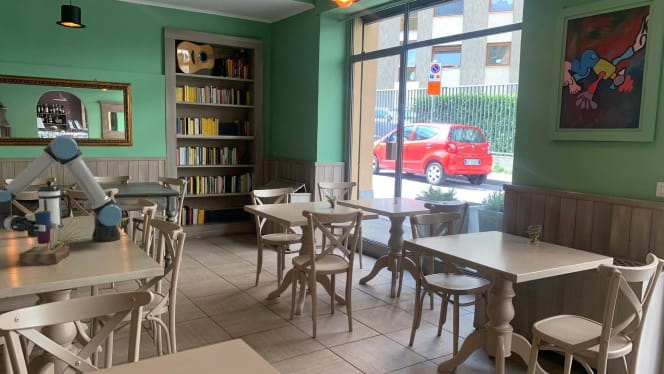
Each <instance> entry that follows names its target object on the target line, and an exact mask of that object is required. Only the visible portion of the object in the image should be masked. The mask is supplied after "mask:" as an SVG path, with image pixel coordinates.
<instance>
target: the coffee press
mask: <svg viewBox="0 0 664 374" xmlns="http://www.w3.org/2000/svg"><path fill="white" fill-rule="evenodd" d="M51 183H52V182H51V181H49V180H48V181H47V182H46V184H44V185H43V184H42V185H40V186H39V187H38V189H37V192H36V193H35V195H36V196H37V198H38V207H39V211H50V212H51V220H50V221H52V223H58V227H60V228H63V227H64V226H65V225H64V224H63V223H62V222H63V221H62V220H63V219H68V218H69V217H71V215H72V214H71V213H72V204H71V203H72V202H71V197H70V196H69V195H68V194H66V193H61V189H62V188H60V186H59V185H56V184H51ZM63 197H65V198H66V203H67V214H65V215H62V205H61V198H63Z"/></svg>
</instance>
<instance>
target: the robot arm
mask: <svg viewBox="0 0 664 374" xmlns="http://www.w3.org/2000/svg"><path fill="white" fill-rule="evenodd" d="M83 156H84V155H83V152H82V151H81V149H80V148H79V146H78V144H77V142H76V139H73V138H72V137H71V136H68V135H58V136H55V137H54V138H53V139H52V140H51V141H50V143H48V145H47V146H46V147H45V148H44V149H42V153H41V154H40V155H39V156H38V157H37V158H36V159H34V161H32V162H31V163H30V164H29V165H28V166H26V168H24V169H23V170H22V171H21V172H20V173H19V174H17V175H16V176H15V177H14V178H13V179H12V180H11V181H10V182H9V183H7V184H6V186H4V187H3V188H2V189H1V190H0V231H2V230H3V231H11V232H13V233H14V232H20V233H23V232H27V231H29V230H31V232H34V230H35V231H46V229H45V226H44V225H36V222H35V221H32V220H28V219H27V218H26V217H25V216H21V215H14V214H13V209H12V208H13V207H12V206H13V205H12V202H14V201H15V200H16V199H17V198H18V196H20V195H21V194H22V193H23V192H24V191H25V190H26V189H28V188H29V187H30V186H31V185H32V184H33V183H34V182H35V181H37V179H39V178H40V177H41V176H42V175H43V174H44V173H45V172H47V171H48V169H50V168H51V167H52V166H53V165H55V164H58V163H59V164H60V165H61V166H62V167H63V166H64V167H66V168H67V170H68V171H69V173H70V174H71V176H72V177H73V178H74V180H75V181H76V183H77V184H78V186H79V187H80V189H81V190H82V192H83V193H84V195H85V196H86V198H87V199H88V201H89V202H90V204H91V211H92V212H93V216H94V217H93V219H94V220H93V221H94V229H93V232H92V234H91V241H92V242H99V243H103V242H114V241H118V240H121V238H122V237H121V236H122V235H121V232H120V230H119V228H118V224H119V223H120V222H121V220H122V216H123V213H122V210H121V208H120V207H119V206H118V205H117V202H116V199H113V198H112V196H108V195H107V194H106V192H105V191H104V190H103V188H102V186H101V185H100V184H99V182H98V180H97V179H96V178H95V176H94V174H93V173H92V171H91V170H90V169H89V167H88V165H87V164H86V163H85V161H84V160H83ZM52 229H54V230H59V226H58V223H52V221H50V230H52Z"/></svg>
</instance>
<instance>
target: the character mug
mask: <svg viewBox="0 0 664 374" xmlns="http://www.w3.org/2000/svg"><path fill="white" fill-rule="evenodd" d="M24 217H26V218H27V219H28V220H32V221H35V214H34V213H29V214H24ZM26 232H27V233H26V236H28V237H37V231H35V230H34V232H31V230H29V231H26Z"/></svg>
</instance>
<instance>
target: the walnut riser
mask: <svg viewBox="0 0 664 374" xmlns="http://www.w3.org/2000/svg"><path fill="white" fill-rule="evenodd" d="M48 246H49V245H48ZM48 246H47V245H46V246H33V247H31V248H29V249H28V250H26V251H23V252H21V253H20V254H19V255H18V258H19V265H20V266H29V265H31V266H32V265H34V266H35V265H58V264H59V263H60V262H62V261H63V260H64V259H66V258H68V257H69V256H70V247H69V245H60V246H61V247H60V248H57V249H54V250H50V249H48ZM52 246H53V245H51V247H52Z"/></svg>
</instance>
